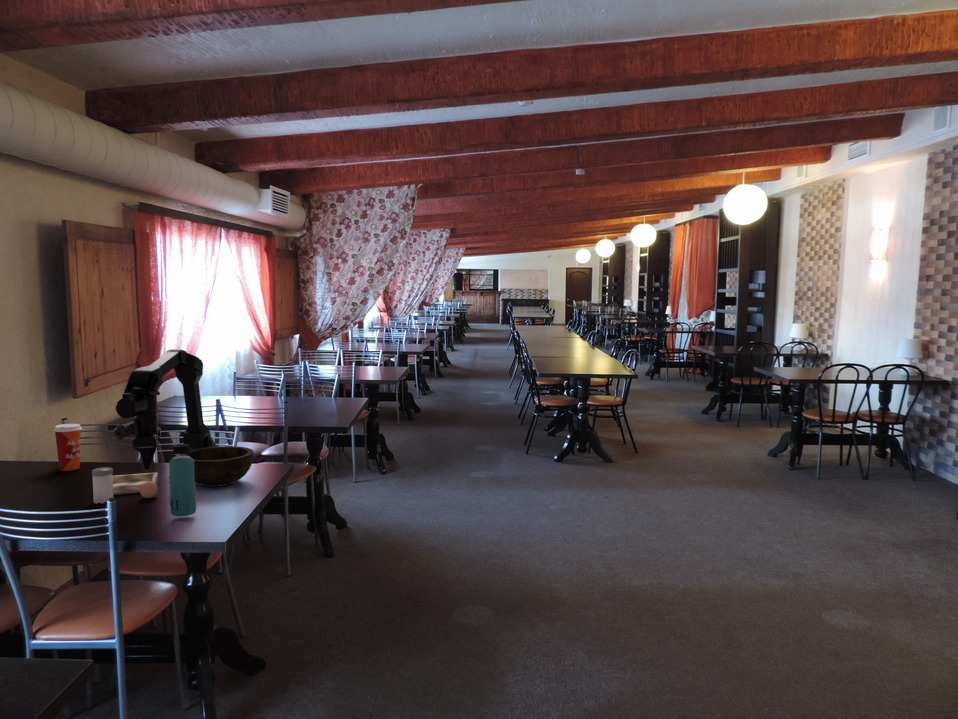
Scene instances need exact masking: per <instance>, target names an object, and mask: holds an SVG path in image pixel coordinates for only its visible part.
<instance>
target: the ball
mask: <svg viewBox="0 0 958 719" xmlns="http://www.w3.org/2000/svg"><path fill="white" fill-rule="evenodd" d="M158 491H159V487H158V485H156V484H155V483H154V482H145V483H144V484H142V486H141V487H140V495H141V496H142V497H143V498H145V499H152V498H154V497H155V496H157V493H158Z"/></svg>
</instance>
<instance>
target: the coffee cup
mask: <svg viewBox="0 0 958 719" xmlns="http://www.w3.org/2000/svg"><path fill="white" fill-rule="evenodd" d="M82 429H83V428H82V426H81V424H80V423H66V424H65V423H63V424H57V425H55V427H54V430H53V432H54V434H55V443H56V453H57V461H58V462H57V463H58V469H59V471H61V472H62V471H63V472H71V471H75V470H79V469H80V466H81V440H82V439H81V438H82V437H81V436H82V435H81V434H82V433H81V432H82V431H81V430H82Z"/></svg>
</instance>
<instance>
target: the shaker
mask: <svg viewBox="0 0 958 719" xmlns="http://www.w3.org/2000/svg"><path fill="white" fill-rule="evenodd" d="M113 470H114V469H113V467H107V466H106V467H99V468H98V467H97V468H94V469H92V471H91V475H92V493H93V495H92V498H93V503H94V504H98V503H100V504H105V503H104V502H106V501H107V500H108V499H109V498H113V499H114V495H113V477H112V476H113V472H114V471H113Z"/></svg>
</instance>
